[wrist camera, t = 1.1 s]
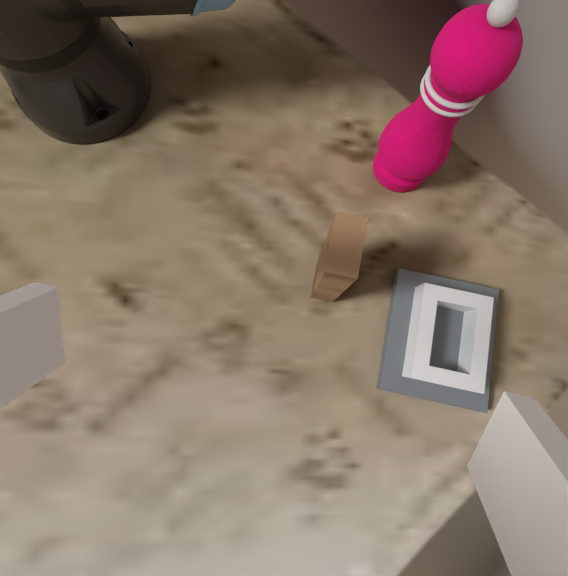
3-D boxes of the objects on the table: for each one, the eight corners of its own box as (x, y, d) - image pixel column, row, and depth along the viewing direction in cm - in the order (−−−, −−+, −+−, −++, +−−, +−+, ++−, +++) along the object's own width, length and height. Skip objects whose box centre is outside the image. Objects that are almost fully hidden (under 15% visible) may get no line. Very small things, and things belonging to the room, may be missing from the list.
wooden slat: (319, 254, 38) (337, 211, 27) (340, 259, 38) (368, 217, 27) (310, 297, 38) (325, 271, 26) (332, 302, 37) (357, 278, 26)
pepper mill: (368, 195, 40) (457, 42, 20) (368, 139, 41) (450, -54, 22) (430, 197, 40) (577, 48, 20) (427, 142, 41) (563, -48, 22)
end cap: (395, 270, 38) (407, 262, 35) (492, 291, 38) (515, 284, 34) (376, 388, 36) (387, 392, 32) (480, 411, 36) (503, 417, 32)
